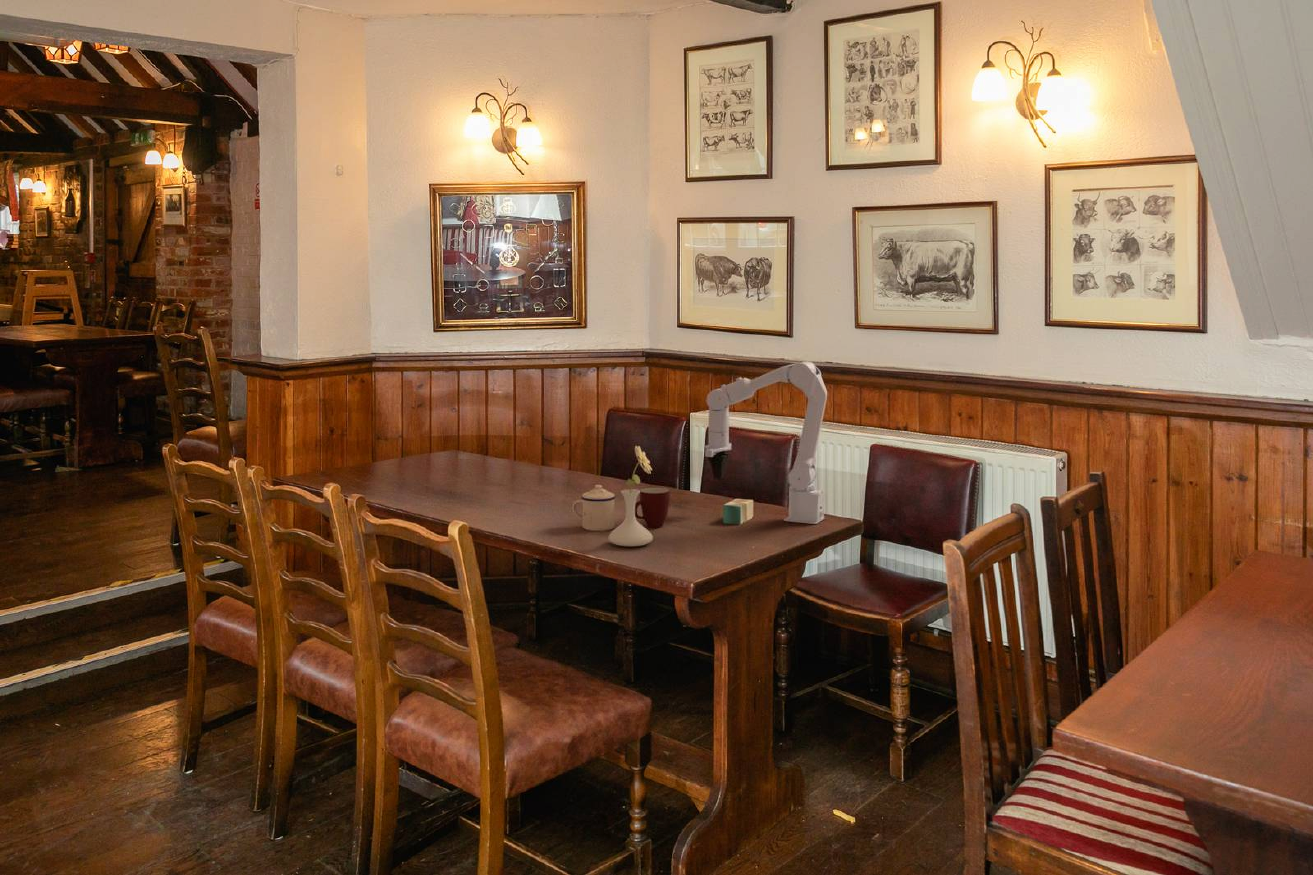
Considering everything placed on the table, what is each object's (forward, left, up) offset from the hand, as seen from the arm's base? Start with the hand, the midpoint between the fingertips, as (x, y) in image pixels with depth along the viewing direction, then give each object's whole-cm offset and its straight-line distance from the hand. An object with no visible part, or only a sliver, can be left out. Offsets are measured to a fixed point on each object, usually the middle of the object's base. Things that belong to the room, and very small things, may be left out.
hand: (718, 478), depth 311 cm
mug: (+10, +23, -11) cm, 27 cm away
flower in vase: (+6, +42, -11) cm, 44 cm away
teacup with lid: (+24, +30, -11) cm, 40 cm away
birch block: (-8, +10, -8) cm, 15 cm away
